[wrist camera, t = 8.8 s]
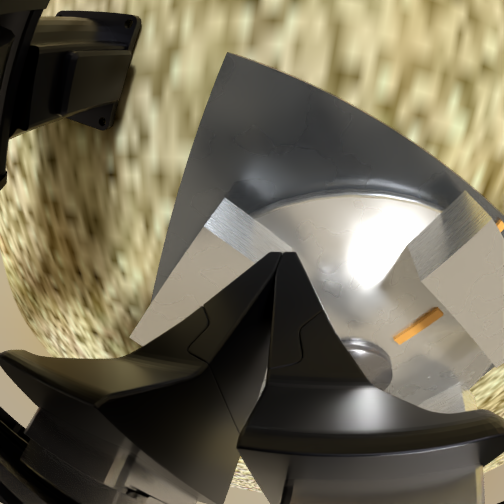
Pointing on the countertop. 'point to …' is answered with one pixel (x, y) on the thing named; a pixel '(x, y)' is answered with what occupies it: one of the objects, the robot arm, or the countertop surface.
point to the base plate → (293, 154)
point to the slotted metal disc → (368, 283)
